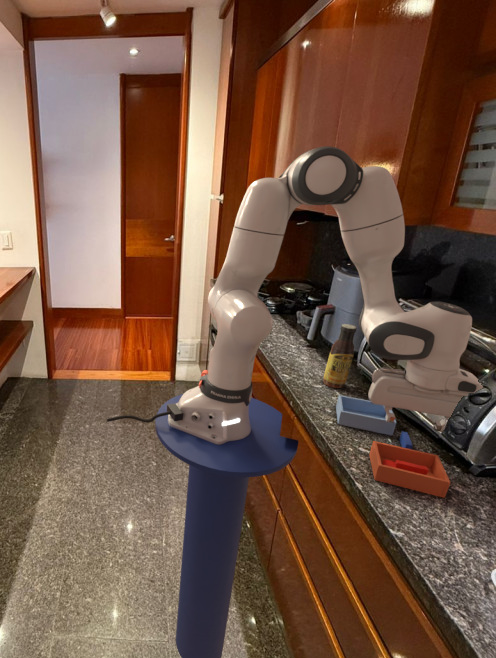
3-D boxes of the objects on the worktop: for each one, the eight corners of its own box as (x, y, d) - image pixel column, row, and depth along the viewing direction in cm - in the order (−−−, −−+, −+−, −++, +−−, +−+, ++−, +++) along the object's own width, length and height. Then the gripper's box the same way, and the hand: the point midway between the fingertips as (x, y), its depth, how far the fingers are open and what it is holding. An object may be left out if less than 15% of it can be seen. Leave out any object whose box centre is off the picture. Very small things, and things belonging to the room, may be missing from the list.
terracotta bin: (374, 480, 84) (378, 465, 82) (369, 454, 91) (373, 440, 90) (444, 498, 79) (450, 482, 77) (432, 469, 87) (438, 455, 85)
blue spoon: (394, 438, 97) (396, 430, 96) (409, 441, 96) (412, 433, 95) (400, 457, 90) (403, 449, 90) (417, 461, 89) (420, 452, 88)
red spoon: (422, 472, 85) (426, 463, 84) (426, 482, 82) (429, 473, 81) (380, 462, 88) (382, 453, 87) (382, 471, 86) (384, 462, 85)
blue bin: (337, 424, 103) (340, 411, 101) (335, 407, 111) (338, 394, 109) (392, 435, 98) (396, 422, 96) (386, 417, 106) (390, 404, 104)
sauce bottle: (326, 388, 120) (339, 329, 113) (319, 379, 126) (331, 322, 118) (349, 390, 119) (364, 330, 112) (340, 380, 125) (354, 322, 118)
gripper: (376, 371, 88) (363, 422, 93) (493, 388, 80) (472, 443, 85) (372, 360, 93) (360, 409, 99) (482, 375, 85) (462, 428, 90)
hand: (413, 425), depth 92 cm, fingers open, 8 cm apart
